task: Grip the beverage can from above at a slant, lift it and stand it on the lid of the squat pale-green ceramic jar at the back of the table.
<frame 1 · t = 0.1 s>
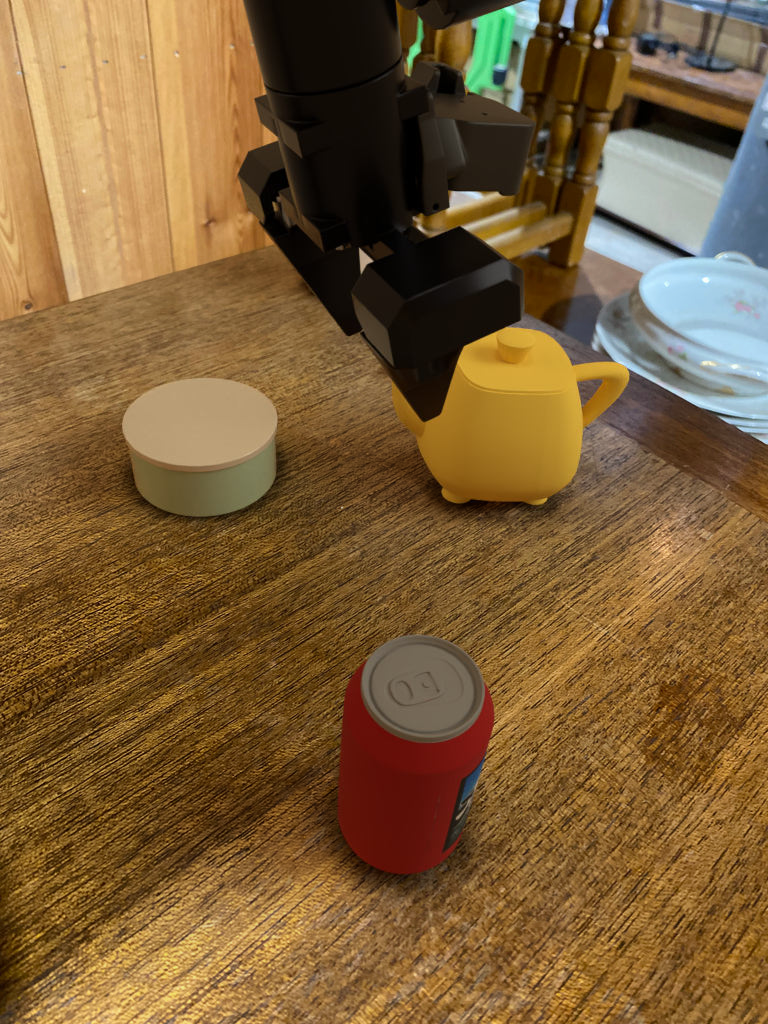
hand: (390, 372, 43), 17 cm above the table, tool pointing down, fingers open, 9 cm apart
beverage can: (399, 819, 42), on the table
cup: (338, 287, 88), on the table
teapot: (479, 471, 64), on the table
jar: (206, 470, 62), on the table
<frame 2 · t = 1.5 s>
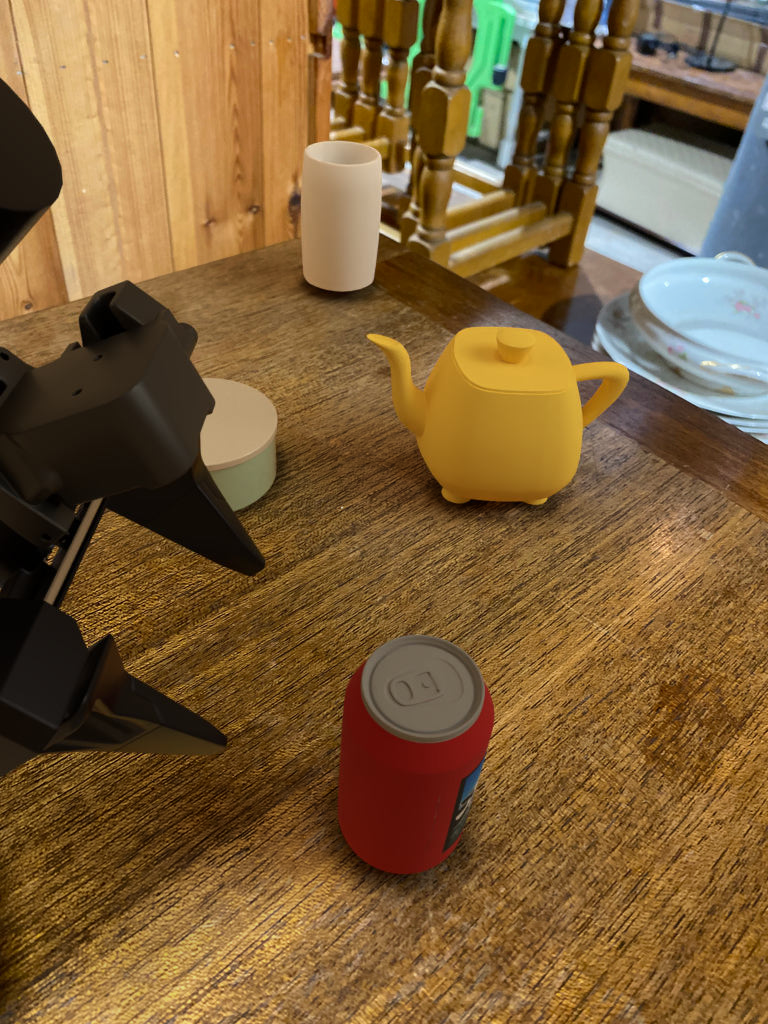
hand: (241, 649, 32), 13 cm above the table, tool tilted 45°, fingers open, 9 cm apart
nothing on the table moved.
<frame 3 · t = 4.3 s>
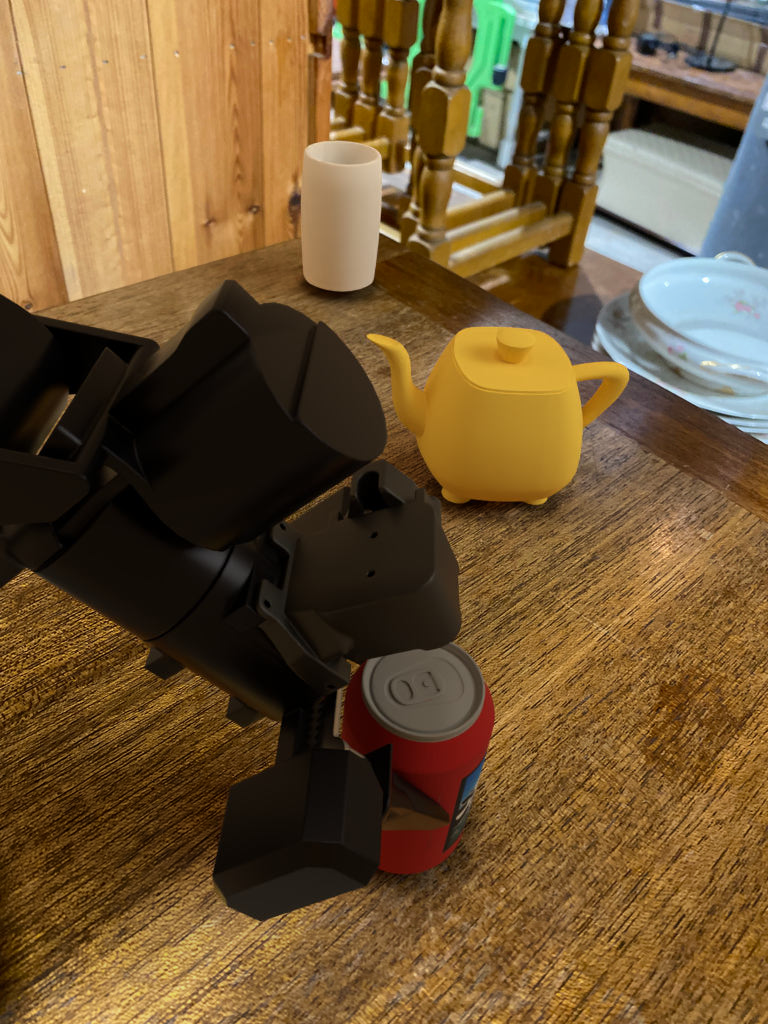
hand: (441, 753, 37), 7 cm above the table, tool tilted 45°, fingers closed on beverage can, 7 cm apart
beverage can: (399, 819, 42), on the table, touching gripper
everything else where it was.
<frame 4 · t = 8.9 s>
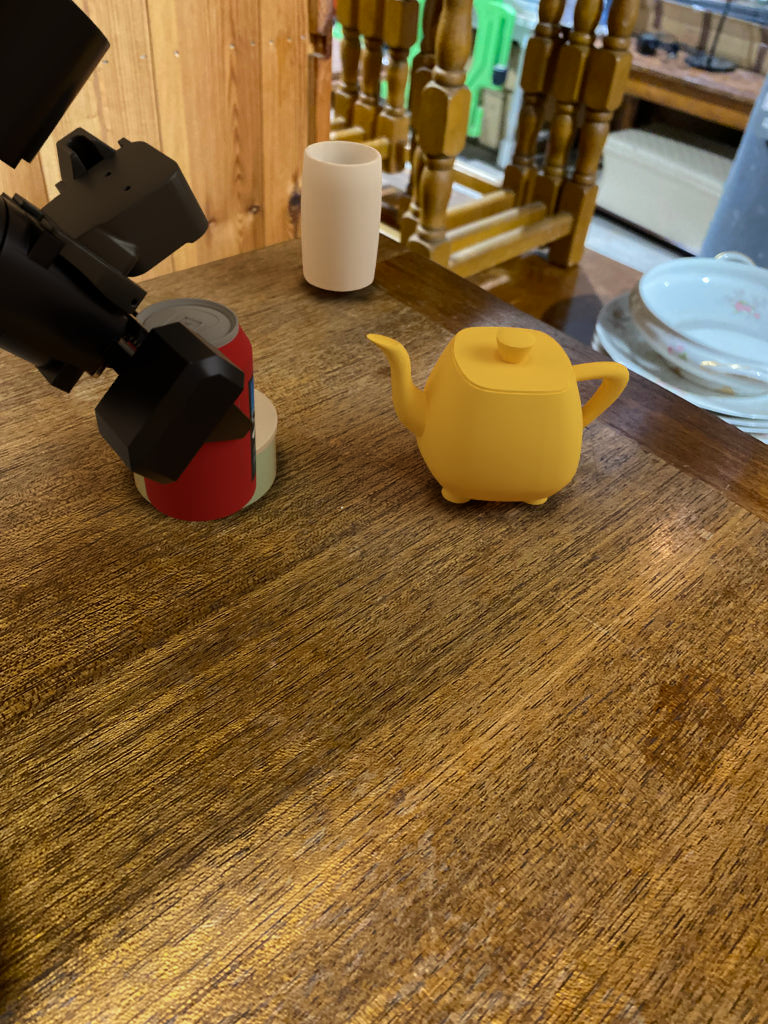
hand: (215, 400, 45), 14 cm above the table, tool tilted 45°, fingers closed on beverage can, 7 cm apart
beverage can: (203, 497, 49), point 7 cm above the table, touching gripper
everything else where it was.
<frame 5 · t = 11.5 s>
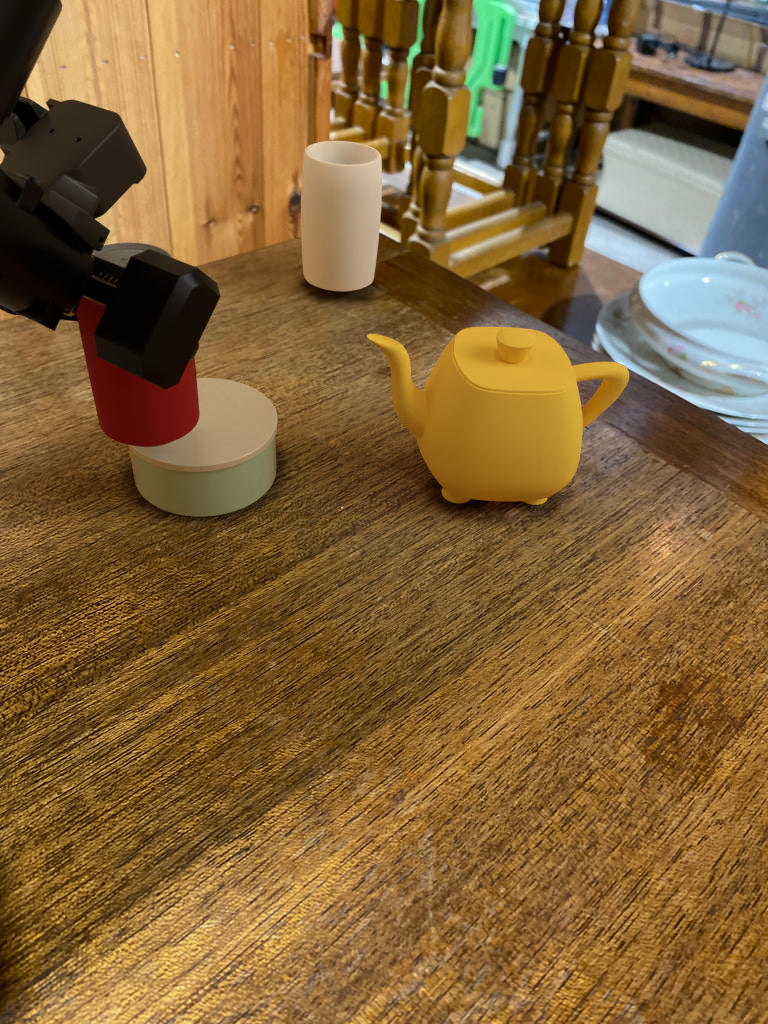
hand: (154, 334, 51), 13 cm above the table, tool tilted 45°, fingers closed on beverage can, 7 cm apart
beverage can: (151, 428, 54), point 7 cm above the table, touching gripper
everything else where it was.
when the fingers open (12 cm above the table, at t = 13.5 s): beverage can stays where it is, resting on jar.
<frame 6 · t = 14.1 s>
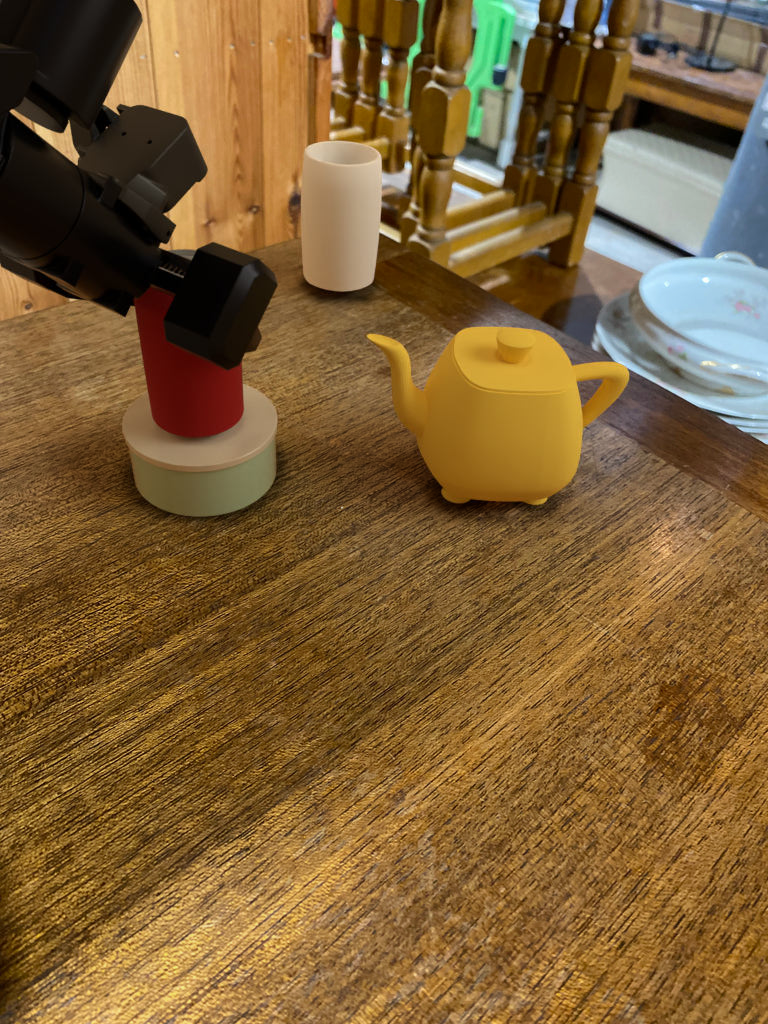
hand: (206, 321, 54), 12 cm above the table, tool tilted 45°, fingers open, 9 cm apart
beverage can: (199, 421, 58), point 5 cm above the table, touching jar
everything else where it was.
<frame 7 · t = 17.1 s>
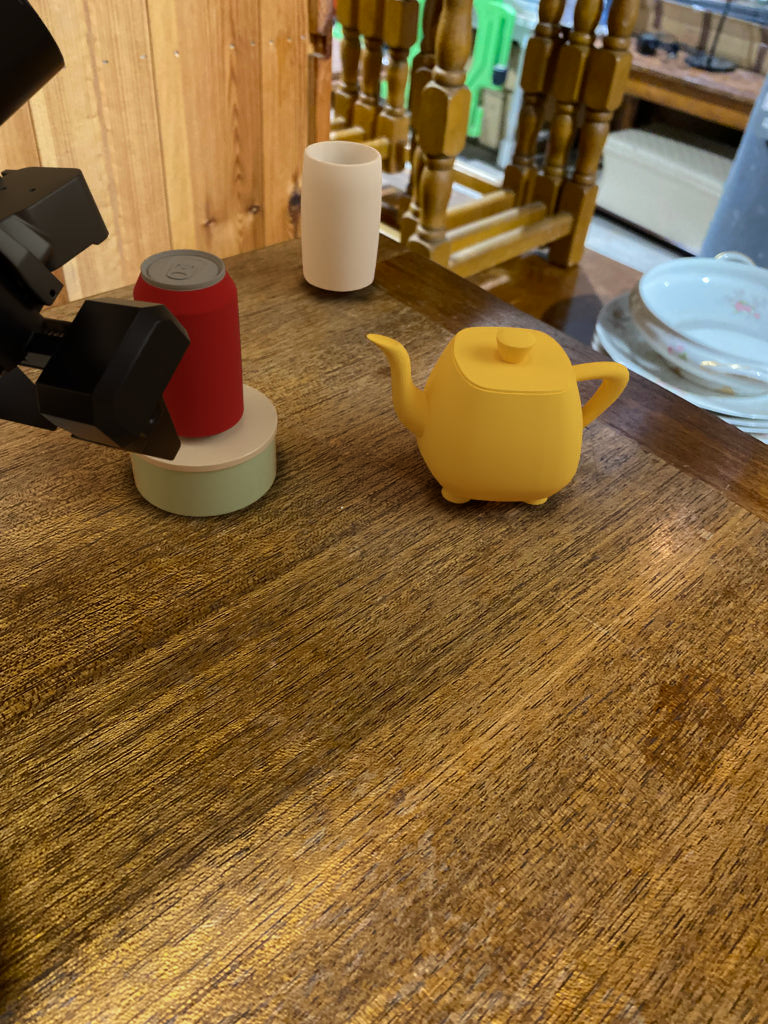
hand: (113, 437, 44), 12 cm above the table, tool tilted 30°, fingers open, 9 cm apart
nothing on the table moved.
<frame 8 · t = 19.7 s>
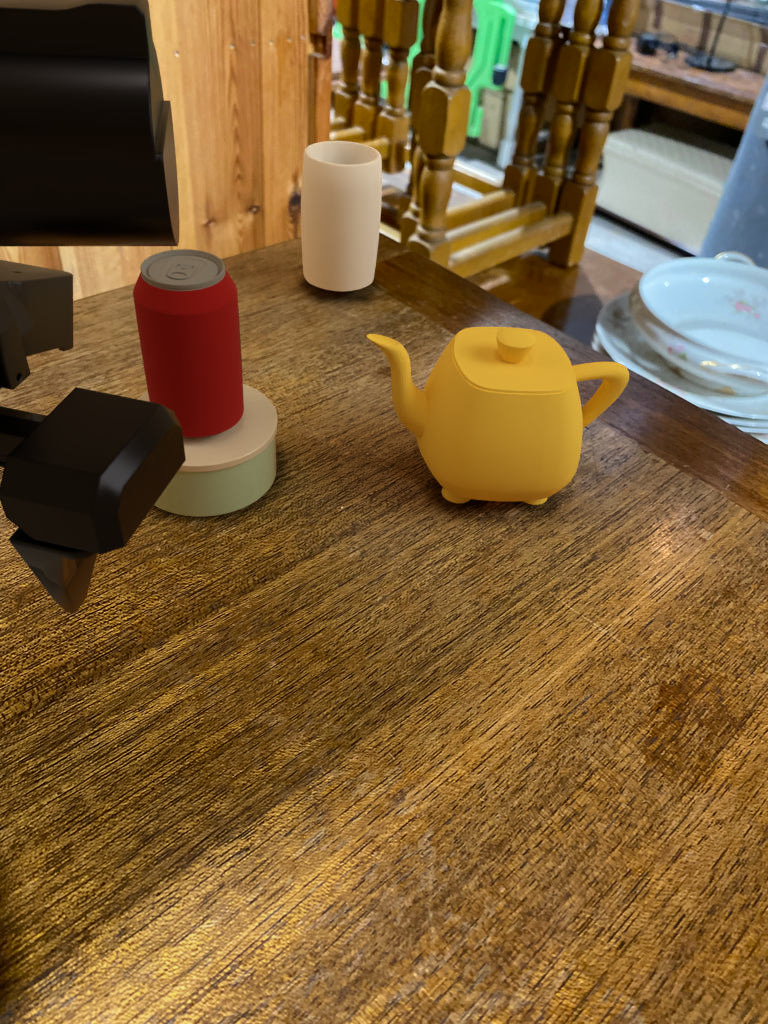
nothing on the table moved.
at the end: beverage can 0.1 cm off-centre on the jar, point 4.8 cm above the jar's base; beverage can tilted 0°; the gripper is holding nothing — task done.
